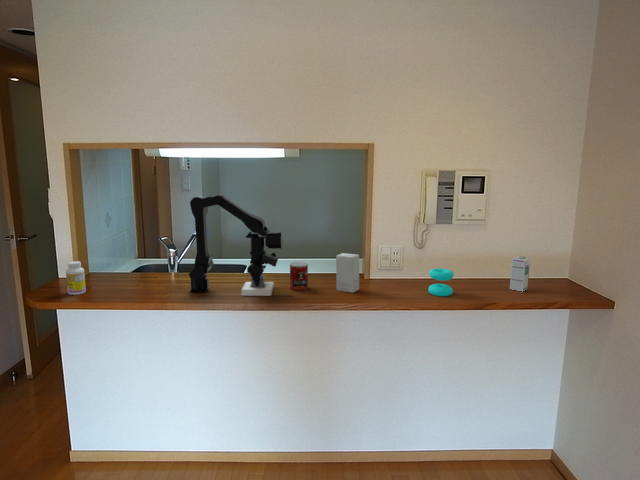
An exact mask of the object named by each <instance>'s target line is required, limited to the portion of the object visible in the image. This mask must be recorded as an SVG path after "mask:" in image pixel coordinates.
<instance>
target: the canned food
mask: <svg viewBox="0 0 640 480" xmlns="http://www.w3.org/2000/svg"><path fill="white" fill-rule="evenodd" d="M308 267H309V264H308V263H307V262H303V261H294V262H291V263H289V287H290V290H291V291H295V292H296V291H297V292H300V291H301V292H302V291H306V290H308V284H309V283H308V281H309V279H308V278H309V275H308V274H309V273H308V272H309V268H308Z"/></svg>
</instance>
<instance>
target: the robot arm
mask: <svg viewBox="0 0 640 480" xmlns="http://www.w3.org/2000/svg"><path fill="white" fill-rule="evenodd" d="M189 205H190V206H189V207H190V209H191V214H192V215H193V217H194V226H195V227H194V228H195V240H196V241H195V243H196V244H195V245H196V256H195V258H194V265H193V267H194V268H193V269H192V270H191V271H190V272H189V273H188V276H189V278H190V289H189V292H190V293H205V292H207V291H208V289H210V286H209V285H210V284H209V283H210V282H209V280H210V279H209V278H208V275H207V274H208V272H209V271H210V270H211V269H212V266H213V265H214V262H213V261H214V260H213V259H214V255H213V254H210V252H209V250H208V249H209V248H208V247H209V246H208V233H207V232H208V231H207V215H208V211H209V207H213V206H219V207H221V208H222V209H224V210H225V211H226V212H228V213H230V214H231V215H232V216H234V217H236V219H238V220H240V221H241V222H242V223H243V224H244V225H245V226H246V227H247V229H248V230H249V232H248V233H247V235H245V238H246V239H250V251H249V254H250V261H249V265H248V266H247V268H246V269H247V270H246V271H247V272H246V273H247V274H250V276H251V278H253V281H254V283H255V285H256V286H259V281H260V275H261V274H263V273H264V272H265V269H266V267H267V265H270V266H272V267H275V268H276V266H277V264H278V261H279V257H278V256H277V253H276V252H272V253H267V251H266V249H265V247H266V248H268V249H277V250H278V249H279V250H282V249H283V245H284V244H283V243H284V241H283V240H284V239H283V235H282V234H283V233H282V231H279V232H270V230H269V229H268V227H267V226H266V223H265V220H264V219H263V218H262V217H260V216H257V215H255V214H252V213H250V212H248V211H246V210H245V209H243V208H241V207H240V206H238V205H237V204H236V203H234V202H233V201H231V200H230V199H228V198H227V197H226V196H224V195H223V194H217V195H213V196H212V195H211V196H207V197H205V196H204V195H198V196H195V197H193V198H191V200H190V202H189Z"/></svg>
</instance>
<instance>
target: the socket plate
mask: <svg viewBox="0 0 640 480" xmlns="http://www.w3.org/2000/svg"><path fill="white" fill-rule="evenodd" d="M274 285H275V282H274V281H265V286H264V288H253V287H252V284H251V281H246V282H245V283H244V284H243V285H242V288H241V296H243V297H244V296H245V297H246V296H249V297H251V296H252V297H253V296H255V297H256V296H258V297H262V296H263V297H267V296H268V297H269V296H272V295H273V294H272V293H273V291H274V287H275V286H274Z"/></svg>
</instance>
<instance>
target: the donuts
mask: <svg viewBox="0 0 640 480" xmlns="http://www.w3.org/2000/svg"><path fill="white" fill-rule="evenodd" d="M428 274H429V277H430V278H431V279H433V280H436V281H450V280H452V279H453V278H454V276H455V273H454V272H453V271H452V270H451V269H447V268H432V269H431V270H429V272H428ZM427 290H428V292H429V293H430V294H431V295H433V296H438V297H448V296H452V294H453V292H454V290H453V288H452V287H451V286H450V285H449V284H445V283H433V284H431V285H429V287H428V289H427Z"/></svg>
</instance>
